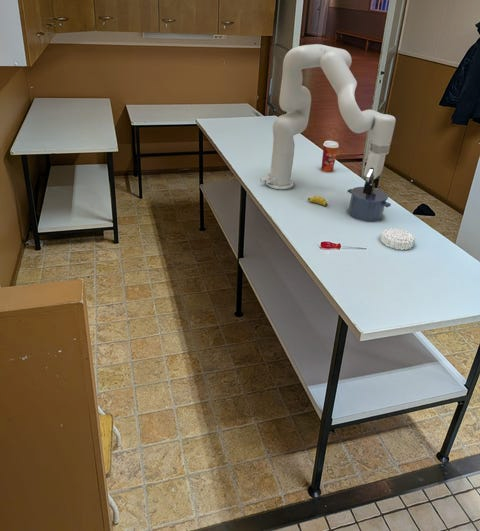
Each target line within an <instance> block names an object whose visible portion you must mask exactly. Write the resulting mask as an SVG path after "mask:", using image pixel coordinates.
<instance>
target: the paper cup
mask: <svg viewBox="0 0 480 531" xmlns="http://www.w3.org/2000/svg"><path fill="white" fill-rule="evenodd" d="M322 145H323V150H322V158H321V171H322V172H324V173H333V170H334V167H335V162H336V158H337V154H338V150H339V147H340V145H339V142H337V141H335V140H325V141H324V143H323V144H322Z"/></svg>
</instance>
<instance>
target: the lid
mask: <svg viewBox="0 0 480 531" xmlns="http://www.w3.org/2000/svg"><path fill="white" fill-rule="evenodd" d="M372 185H373V188H372V192H371V195H368V194H364V193H363V190H364V186H356V187H353V188H351V189H352V190H351V193H350V194H351V195H352V196H354V197H355V198H357V199H360V200H363V201H367V202H384V201H386V202H387V201H388V199H389V195H388V193H387V192H385V191H384V190H381V189H378V188H374V186H375V182H373V184H372Z"/></svg>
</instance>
